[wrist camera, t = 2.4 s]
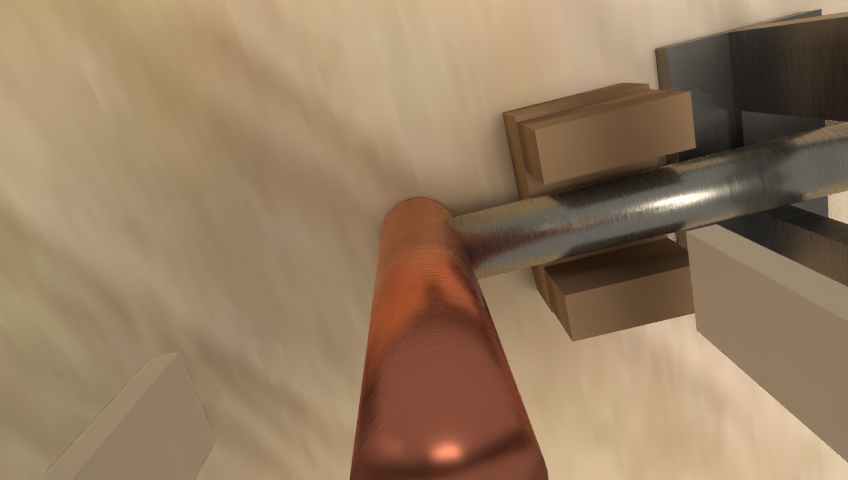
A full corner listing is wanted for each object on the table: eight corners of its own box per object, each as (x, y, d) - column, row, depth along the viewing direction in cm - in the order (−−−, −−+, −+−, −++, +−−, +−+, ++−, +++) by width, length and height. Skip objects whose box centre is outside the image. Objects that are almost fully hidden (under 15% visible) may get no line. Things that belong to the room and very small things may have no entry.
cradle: (537, 289, 25) (573, 346, 20) (502, 112, 23) (533, 123, 18) (646, 263, 25) (712, 313, 20) (622, 82, 23) (689, 85, 18)
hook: (392, 279, 24) (377, 590, 9) (372, 208, 23) (323, 431, 9) (959, 143, 23) (1879, 255, 9) (961, 64, 22) (1992, 43, 8)
